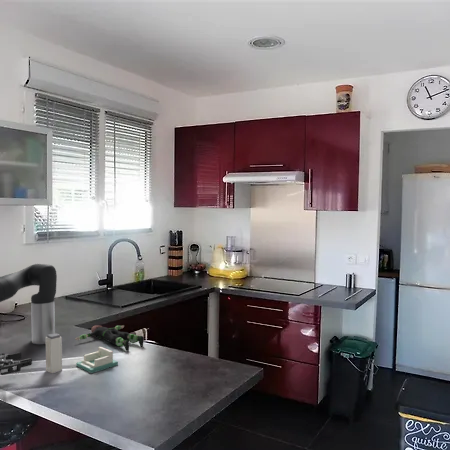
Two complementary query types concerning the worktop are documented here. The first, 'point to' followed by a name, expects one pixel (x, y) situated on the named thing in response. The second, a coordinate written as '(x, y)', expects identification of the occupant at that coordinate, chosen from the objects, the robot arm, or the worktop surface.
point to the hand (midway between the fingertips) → (26, 358)
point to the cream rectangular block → (53, 353)
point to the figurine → (114, 336)
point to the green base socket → (97, 360)
